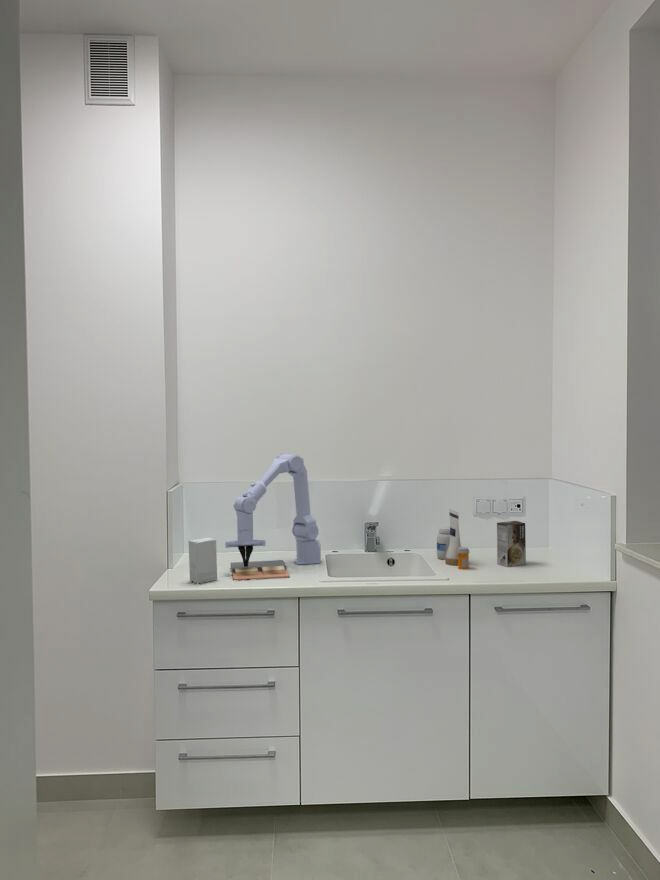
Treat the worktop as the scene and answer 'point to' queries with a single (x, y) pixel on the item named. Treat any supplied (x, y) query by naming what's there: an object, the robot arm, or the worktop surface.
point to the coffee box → (511, 543)
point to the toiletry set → (452, 544)
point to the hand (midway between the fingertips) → (245, 566)
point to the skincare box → (203, 560)
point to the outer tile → (246, 571)
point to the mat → (261, 576)
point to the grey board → (257, 564)
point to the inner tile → (273, 570)
